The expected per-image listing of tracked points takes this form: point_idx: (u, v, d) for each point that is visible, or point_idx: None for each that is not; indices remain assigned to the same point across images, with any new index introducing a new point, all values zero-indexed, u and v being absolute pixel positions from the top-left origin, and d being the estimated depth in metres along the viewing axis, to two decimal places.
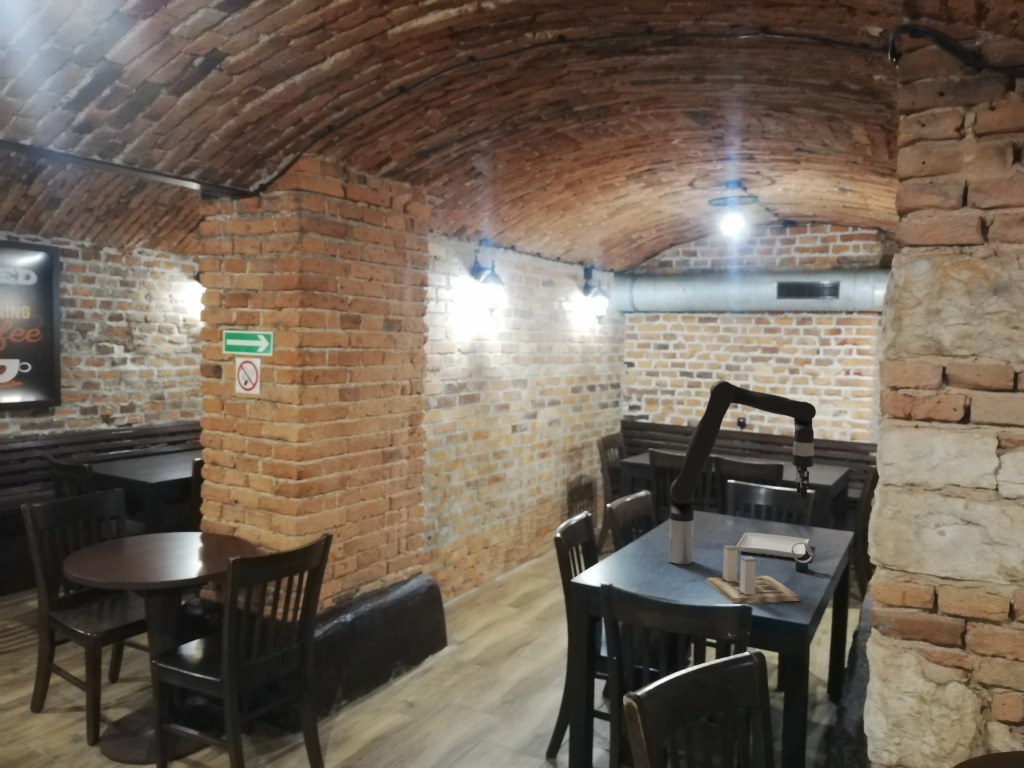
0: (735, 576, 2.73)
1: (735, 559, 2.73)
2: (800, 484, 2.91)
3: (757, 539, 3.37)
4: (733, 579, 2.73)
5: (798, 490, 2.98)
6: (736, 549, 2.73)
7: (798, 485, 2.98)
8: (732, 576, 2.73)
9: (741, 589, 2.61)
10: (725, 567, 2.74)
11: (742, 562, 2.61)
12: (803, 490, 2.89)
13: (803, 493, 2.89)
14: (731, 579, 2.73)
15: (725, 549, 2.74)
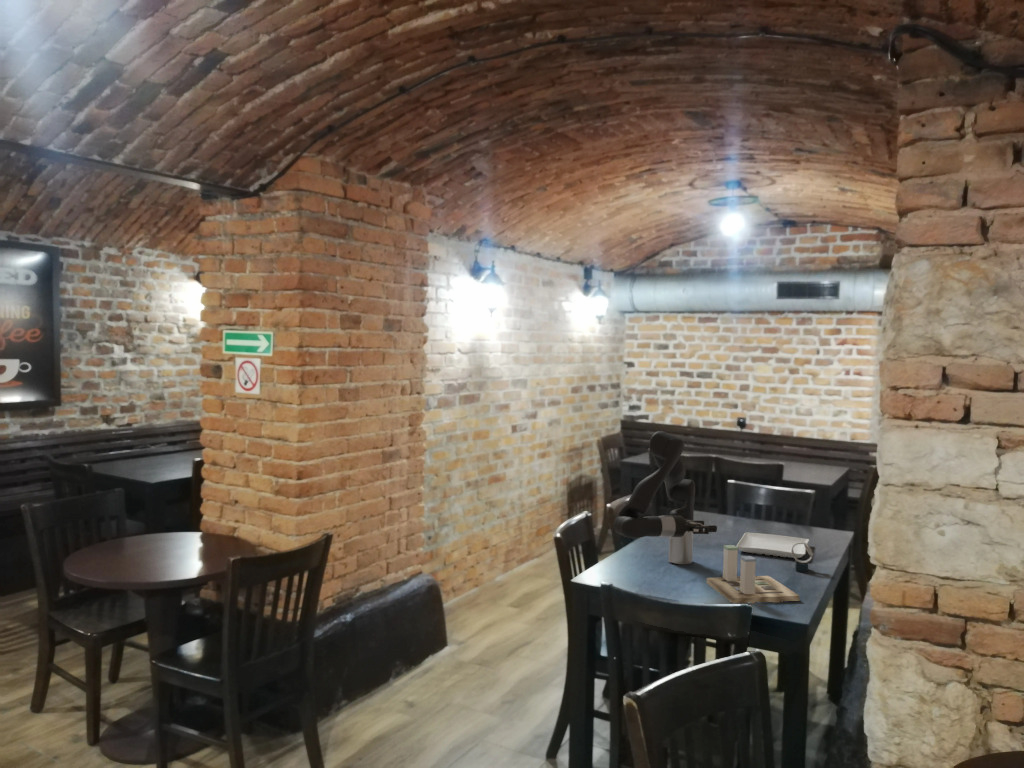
0: (735, 576, 2.73)
1: (735, 559, 2.73)
2: (692, 520, 2.75)
3: (757, 539, 3.37)
4: (733, 579, 2.73)
5: None
6: (736, 549, 2.73)
7: None
8: (732, 576, 2.73)
9: (741, 589, 2.61)
10: (725, 567, 2.74)
11: (742, 562, 2.61)
12: None
13: None
14: (731, 579, 2.73)
15: (725, 549, 2.74)
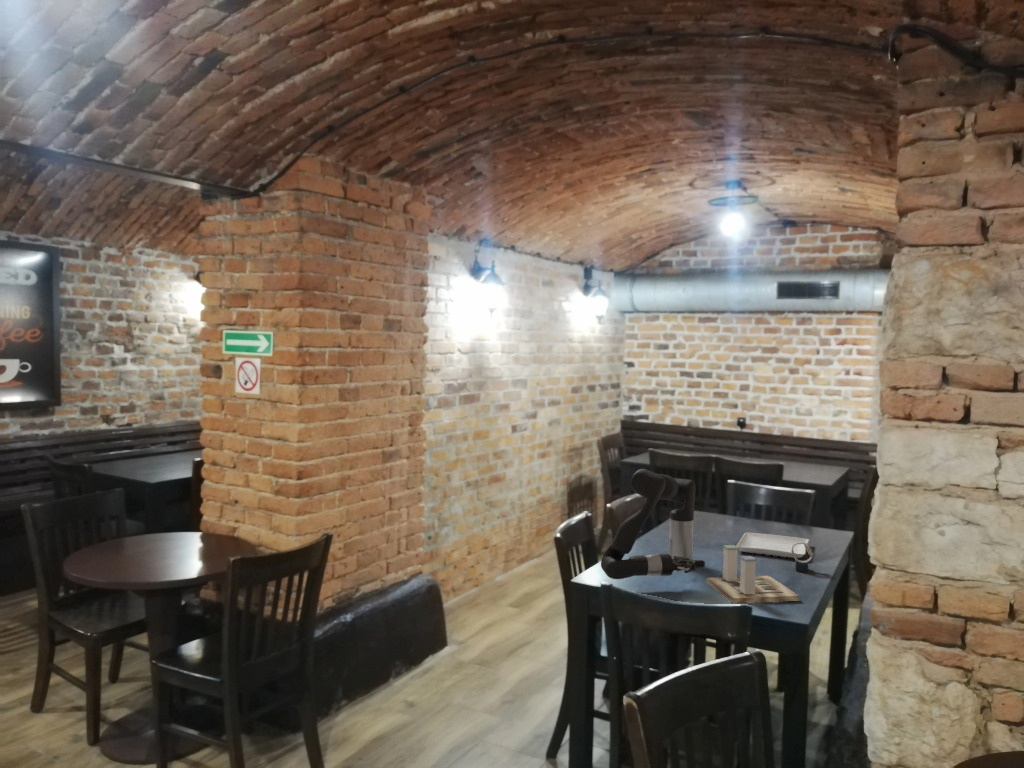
0: (735, 576, 2.73)
1: (735, 559, 2.73)
2: (689, 560, 2.72)
3: (757, 539, 3.37)
4: (733, 579, 2.73)
5: None
6: (736, 549, 2.73)
7: None
8: (732, 576, 2.73)
9: (741, 589, 2.61)
10: (725, 567, 2.74)
11: (742, 562, 2.61)
12: None
13: None
14: (731, 579, 2.73)
15: (725, 549, 2.74)
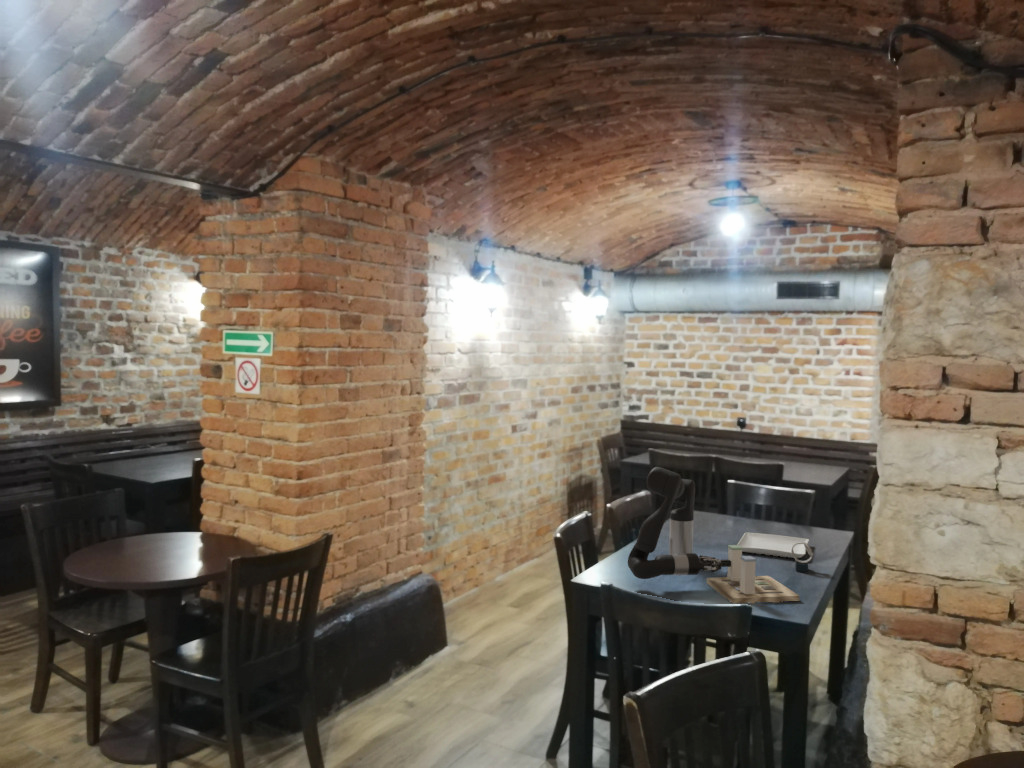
0: None
1: (740, 559, 2.73)
2: (715, 559, 2.74)
3: (757, 539, 3.37)
4: (738, 579, 2.73)
5: None
6: (741, 549, 2.73)
7: None
8: (737, 576, 2.73)
9: (741, 589, 2.61)
10: (729, 567, 2.75)
11: (742, 562, 2.61)
12: None
13: None
14: (736, 579, 2.73)
15: (730, 549, 2.74)
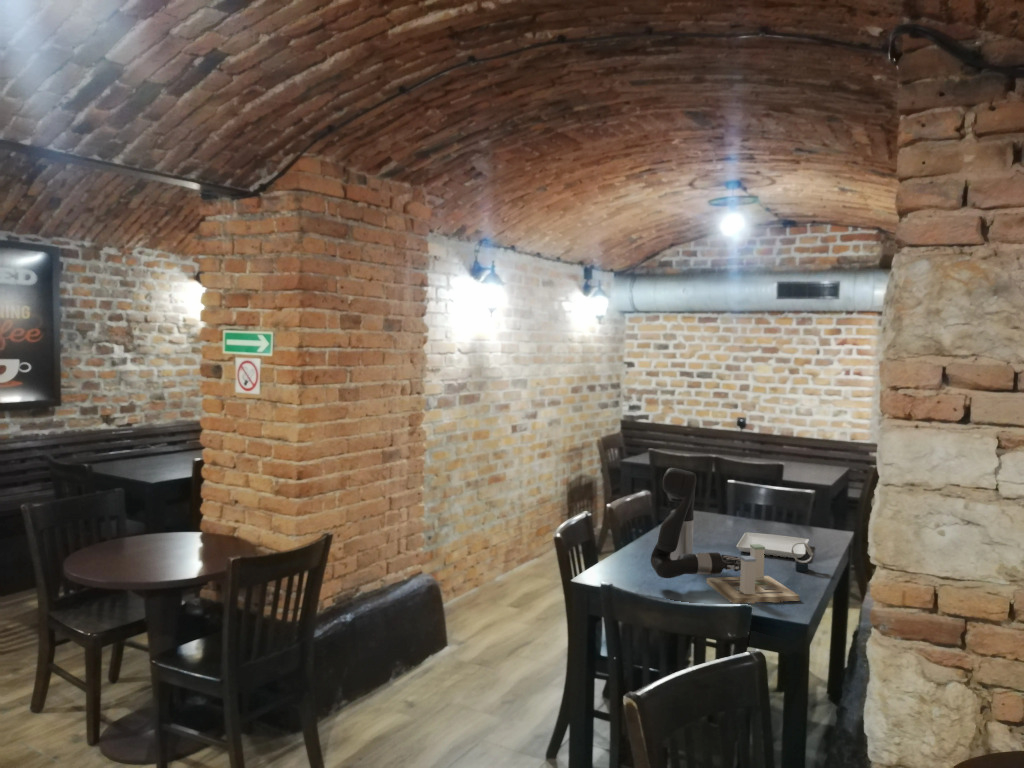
0: (762, 575, 2.75)
1: (762, 558, 2.74)
2: (738, 559, 2.75)
3: (757, 539, 3.37)
4: (760, 578, 2.74)
5: None
6: (763, 548, 2.74)
7: None
8: (759, 575, 2.75)
9: (741, 589, 2.61)
10: None
11: (742, 562, 2.61)
12: None
13: None
14: (758, 578, 2.74)
15: (752, 548, 2.76)
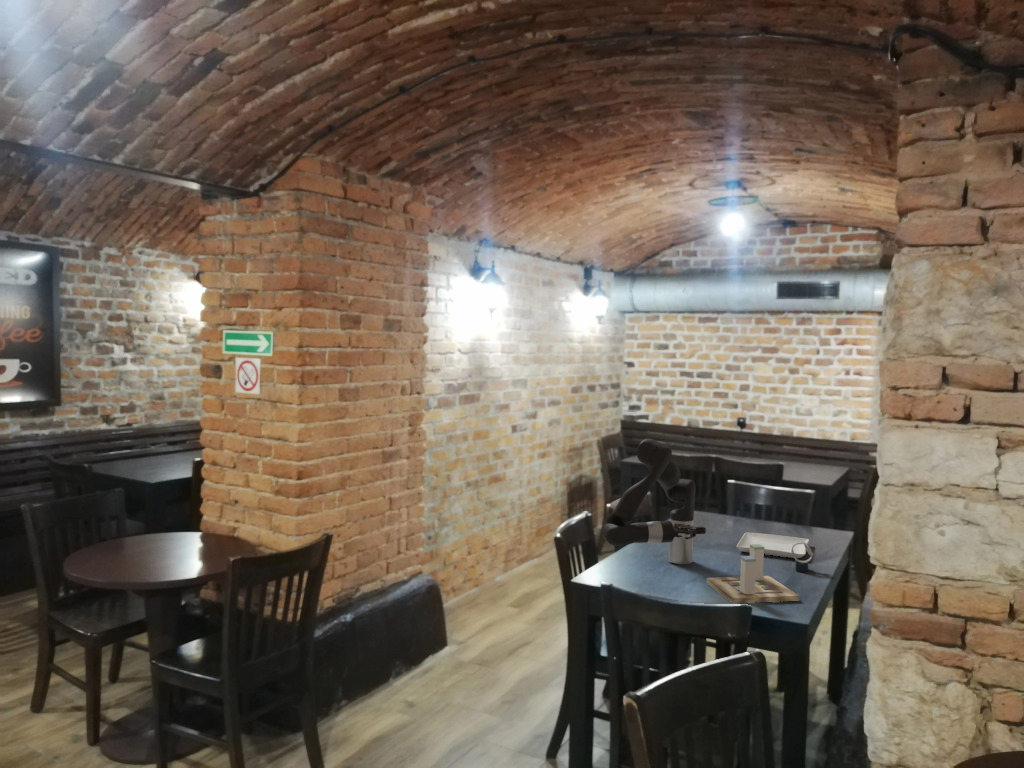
0: (761, 575, 2.75)
1: (761, 558, 2.74)
2: (690, 527, 2.72)
3: (757, 539, 3.37)
4: (759, 578, 2.74)
5: None
6: (762, 548, 2.74)
7: None
8: (758, 575, 2.74)
9: (741, 589, 2.61)
10: None
11: (742, 562, 2.61)
12: None
13: None
14: (757, 578, 2.74)
15: (751, 548, 2.76)
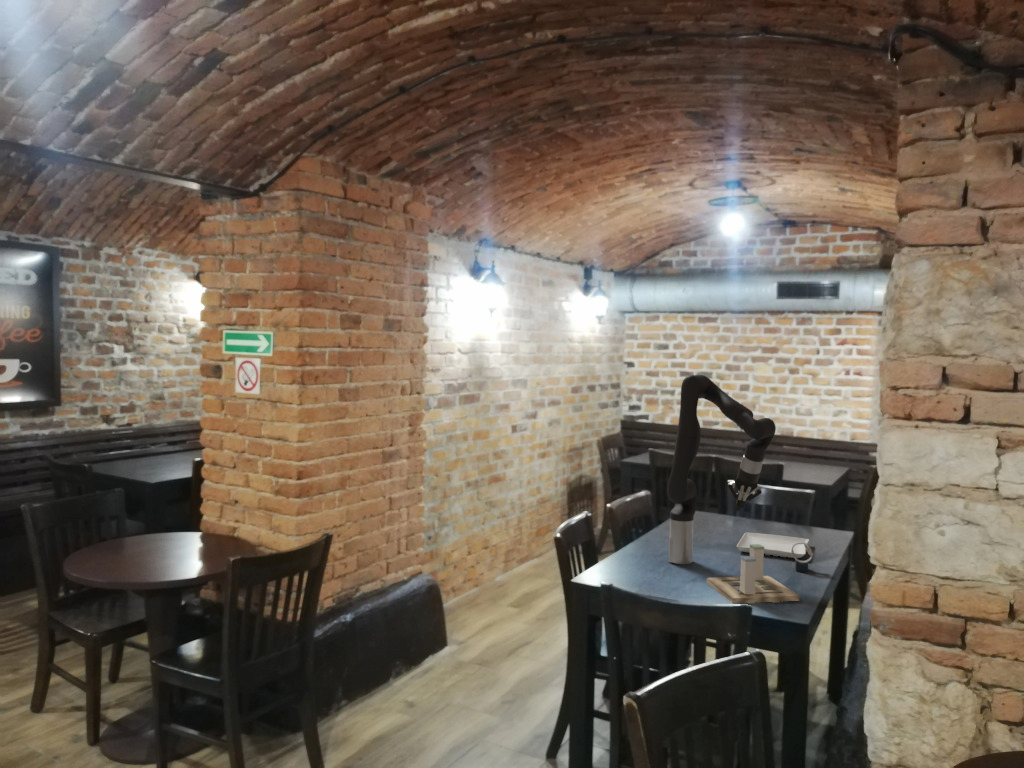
0: (761, 575, 2.75)
1: (761, 558, 2.74)
2: None
3: (757, 539, 3.37)
4: (759, 578, 2.74)
5: None
6: (762, 548, 2.74)
7: None
8: (758, 575, 2.74)
9: (741, 589, 2.61)
10: None
11: (742, 562, 2.61)
12: (737, 499, 2.89)
13: (736, 502, 2.90)
14: (757, 578, 2.74)
15: (751, 548, 2.76)
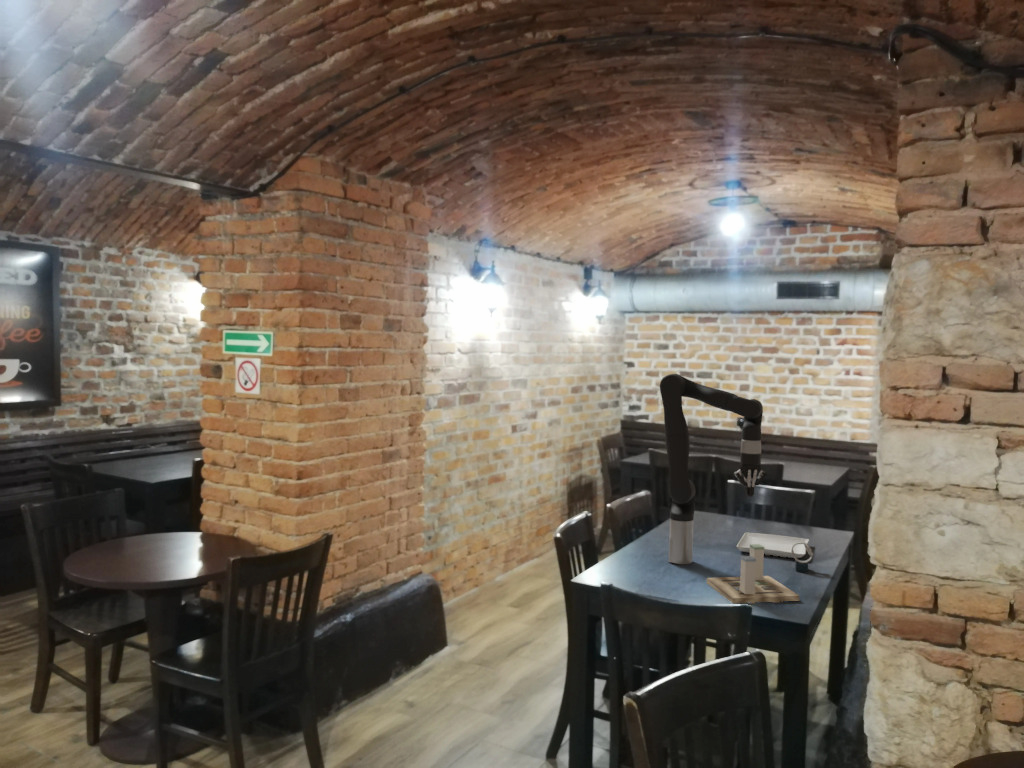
0: (761, 575, 2.75)
1: (761, 558, 2.74)
2: None
3: (757, 539, 3.37)
4: (759, 578, 2.74)
5: None
6: (762, 548, 2.74)
7: None
8: (758, 575, 2.74)
9: (741, 589, 2.61)
10: None
11: (742, 562, 2.61)
12: (746, 488, 2.92)
13: (746, 491, 2.92)
14: (757, 578, 2.74)
15: (751, 548, 2.76)
